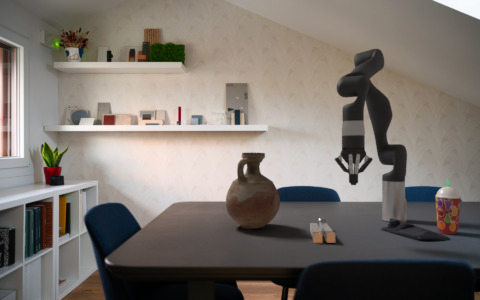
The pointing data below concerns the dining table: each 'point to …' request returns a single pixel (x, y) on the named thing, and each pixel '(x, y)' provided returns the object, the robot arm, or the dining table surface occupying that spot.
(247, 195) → the jug
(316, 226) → the base
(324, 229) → the tong arm
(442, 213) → the smoothie
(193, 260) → the dining table surface
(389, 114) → the robot arm
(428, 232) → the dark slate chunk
